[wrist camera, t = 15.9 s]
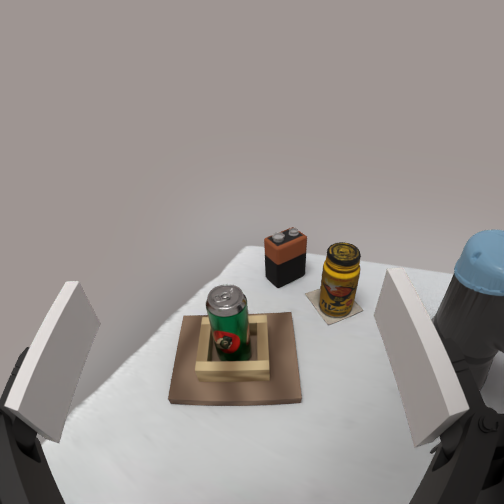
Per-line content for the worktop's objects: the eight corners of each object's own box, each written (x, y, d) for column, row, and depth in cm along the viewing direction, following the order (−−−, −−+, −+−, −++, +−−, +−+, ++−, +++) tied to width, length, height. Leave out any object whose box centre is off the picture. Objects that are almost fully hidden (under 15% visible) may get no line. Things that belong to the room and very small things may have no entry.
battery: (264, 277, 60) (262, 233, 54) (292, 264, 62) (293, 221, 57) (277, 289, 57) (277, 244, 51) (305, 275, 59) (308, 231, 53)
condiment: (328, 325, 49) (337, 269, 42) (304, 294, 55) (308, 239, 48) (363, 311, 50) (376, 256, 43) (337, 282, 57) (345, 229, 50)
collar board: (290, 318, 50) (291, 299, 48) (300, 402, 37) (303, 387, 35) (185, 321, 51) (179, 303, 48) (170, 403, 38) (161, 388, 35)
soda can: (257, 360, 42) (253, 302, 35) (224, 372, 41) (211, 316, 34) (243, 336, 46) (237, 277, 39) (213, 347, 45) (199, 289, 38)
